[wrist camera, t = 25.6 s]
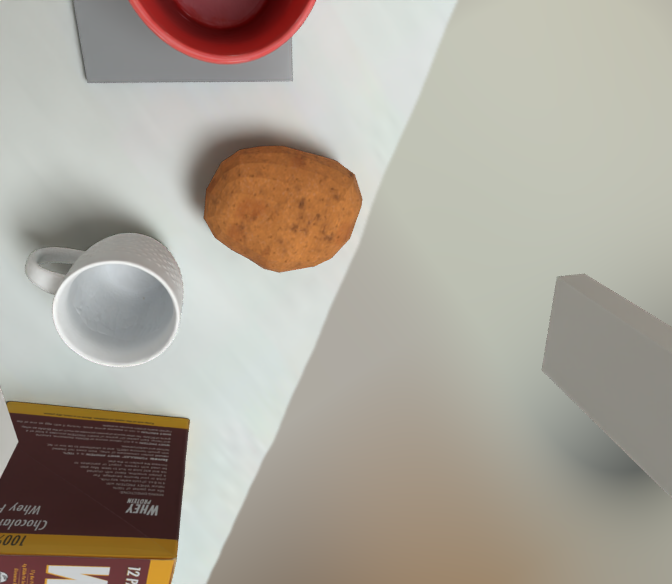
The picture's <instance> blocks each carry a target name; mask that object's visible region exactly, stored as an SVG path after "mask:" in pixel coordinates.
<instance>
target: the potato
mask: <svg viewBox="0 0 672 584" xmlns="http://www.w3.org/2000/svg"><path fill="white" fill-rule="evenodd" d="M361 205H362V196H361V193H360V190H359V187H358V184H357V181H356V178H355V174H353V173H352V172H350V171H349V170H348V169H346V168H345V167H344V166H342V165H341V164H340V163H338V162H337V161H335V160H332V159H329V158H325V157H322V156H319V155H315V154H311V153H307V152H303V151H299V150H296V149H292V148H289V147H285V146H260V147H253V148H247V149H240V150H239V151H237V152H236V153H234V154H233V155H231V156H230V157H228V158H227V159H225V160H224V161H222V162H221V164H220V165H219V167H218V169H217V171H216V173H215V175H214V176H213V178H212V180H211V182H210V184H209V186H208V187H207V189H206V198H205V210H204V219H205V221H206V223H207V225H208V226H209V228H210V230H211V232H212V233H213V235H214V237H215V238H216V239H217V240H219V241H220V242H222V243H223V244H224V245H226V246H227V247H228V248H230V249H231V250H233V251H235V252H237V253H239V254H241V255H242V256H244V257H246V258H248V259H250V260H251V261H253V262H254V263H256V264H257V265H259V266H260V267H262V268H263V269H267V270H271V271H275V272H285V271H290V270H296V269H302V268H307V267H314V266H316V265H318V264H320V263H322V262H324V261H327V260H329V259H331V258H332V257H333V256H334V255H335V254H336V253H337V252H338V251H339V250H340V249H341V247H342V246H343V245H344V244H345V243H346V242H347V241H348V240H349V239H350V237H351V234H352V231H353V228H354V225H355V223H356V220H357V217H358V214H359V211H360V208H361Z"/></svg>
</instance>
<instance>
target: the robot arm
mask: <svg viewBox="0 0 672 584" xmlns="http://www.w3.org/2000/svg"><path fill="white" fill-rule="evenodd" d="M542 371H543V372H544V373H545V374H546V375H547V376H548V377H549V378H550V379H551V380H552V381H553V382H554V383H555V384H556V385H557V386H558V387H559V388H561V390H562V391H563V392H564V393H565V394H566V395H567V396H568V397H570V399H571V400H573V401H574V403H576V404H577V405H578V406H579V407H580V408H581V409H582V410H583V411H584V412H585V413H586V414H587V415H588V416H589V417H590V418H591V419H592V420H593V421H594V422H595V423H596V424H597V425H598V426H599V427H600V428H601V429H602V430H603V431H604V432H605V433H606V434H607V435H608V436H609V437H610V438H611V439H612V440H613V441H614V442H615V443H616V444H617V445H618V446H619V447H620V448H621V449H622V450H623V451H624V452H625V453H626V454H627V455H628V456H629V457H630V458H631V459H633V461H635V462H636V463H637V464H638V465H639V466H640V467H641V468H642V469H643V470H644V471H645V472H646V473H647V474H648V475H649V476H650V477H651V478H652V479H653V480H654V481H655V482H656V483H657V484H658V485H659V486H660V487H661V488H662V489H663V490H664V491H665V492H666V493H667V494H668V495H669V496H670V497H671V498H672V327H671V326H669V325H668V324H666V323H664V322H663V321H661V320H659V319H658V318H656V317H654V316H653V315H651V314H650V313H648V312H646V311H645V310H643V309H641V308H640V307H638V306H637V305H635V304H633V303H632V302H630V301H628V300H627V299H625V298H623V297H622V296H620V295H619V294H617V293H615V292H614V291H612V290H610V289H609V288H607V287H605V286H604V285H602V284H600V283H599V282H597V281H596V280H594V279H592V278H590V277H589V276H587V275H586V274H577V275H567V276H558V277H557V279H556V285H555V292H554V298H553V304H552V310H551V316H550V322H549V328H548V334H547V340H546V347H545V353H544V359H543V365H542ZM17 443H18V439H17V436H16V433H15V430H14V427H13V424H12V421H11V418H10V415H9V412H8V408H7V405H6V402H5V399H4V396H3V393H2V390H1V387H0V478H1V476H2V474H3V472H4V470H5V468H6V466H7V464H8V462H9V459H10V457H11V455H12V453H13V451H14V449H15V447H16V445H17Z"/></svg>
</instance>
